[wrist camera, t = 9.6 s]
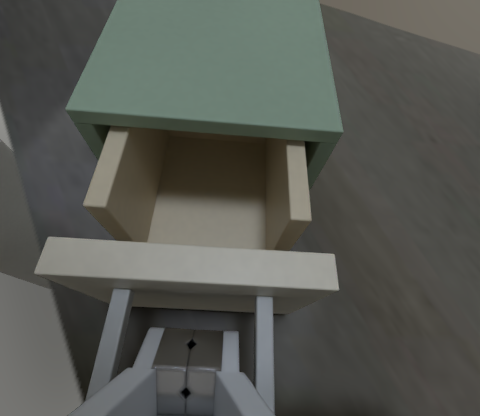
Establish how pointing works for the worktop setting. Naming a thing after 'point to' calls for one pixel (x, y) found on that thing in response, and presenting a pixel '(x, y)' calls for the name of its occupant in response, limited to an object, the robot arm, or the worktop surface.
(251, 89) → the cabinet
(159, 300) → the drawer
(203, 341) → the robot arm
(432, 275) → the worktop surface
